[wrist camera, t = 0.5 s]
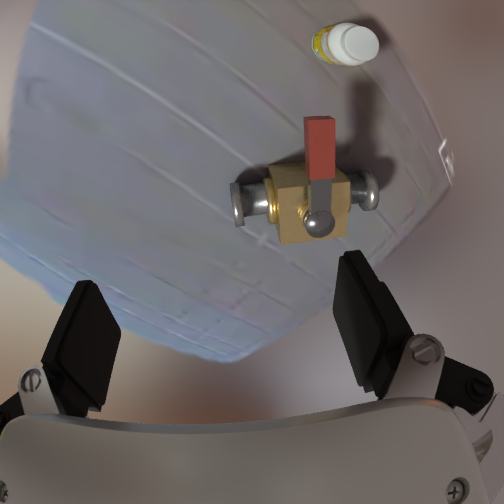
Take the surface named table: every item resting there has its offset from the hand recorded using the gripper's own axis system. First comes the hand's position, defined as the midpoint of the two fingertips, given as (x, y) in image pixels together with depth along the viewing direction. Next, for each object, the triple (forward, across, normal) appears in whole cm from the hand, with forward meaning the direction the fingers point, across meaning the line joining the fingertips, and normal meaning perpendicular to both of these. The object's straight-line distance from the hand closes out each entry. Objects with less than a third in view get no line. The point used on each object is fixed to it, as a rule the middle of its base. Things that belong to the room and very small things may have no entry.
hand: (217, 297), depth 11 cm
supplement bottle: (+31, -15, -11) cm, 36 cm away
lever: (+22, -10, +5) cm, 25 cm away
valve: (+31, -10, +10) cm, 34 cm away
